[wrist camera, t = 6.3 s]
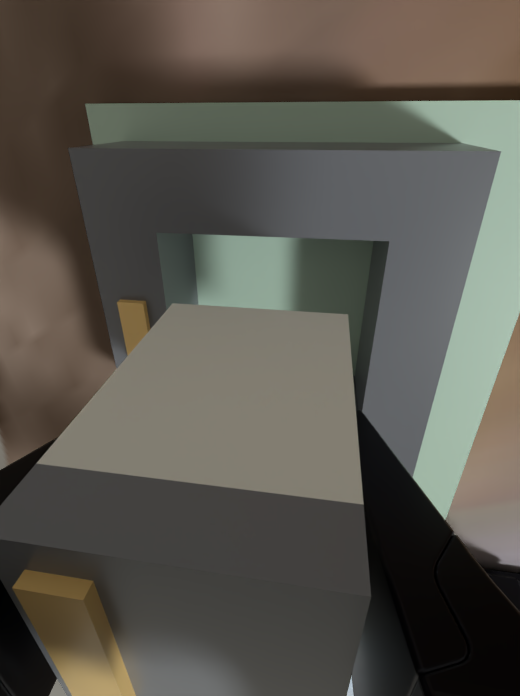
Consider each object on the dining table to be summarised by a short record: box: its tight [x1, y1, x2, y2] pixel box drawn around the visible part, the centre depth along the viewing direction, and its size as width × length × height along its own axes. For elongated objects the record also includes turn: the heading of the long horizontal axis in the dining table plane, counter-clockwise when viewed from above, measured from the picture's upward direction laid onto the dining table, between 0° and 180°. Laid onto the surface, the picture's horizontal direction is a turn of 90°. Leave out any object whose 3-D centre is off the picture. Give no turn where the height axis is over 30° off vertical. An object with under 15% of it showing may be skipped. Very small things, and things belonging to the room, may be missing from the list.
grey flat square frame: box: [68, 141, 501, 477], centre depth 13 cm, size 10×10×3 cm
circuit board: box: [85, 100, 520, 519], centre depth 16 cm, size 18×14×1 cm
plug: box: [0, 303, 371, 696], centre depth 7 cm, size 4×4×6 cm
